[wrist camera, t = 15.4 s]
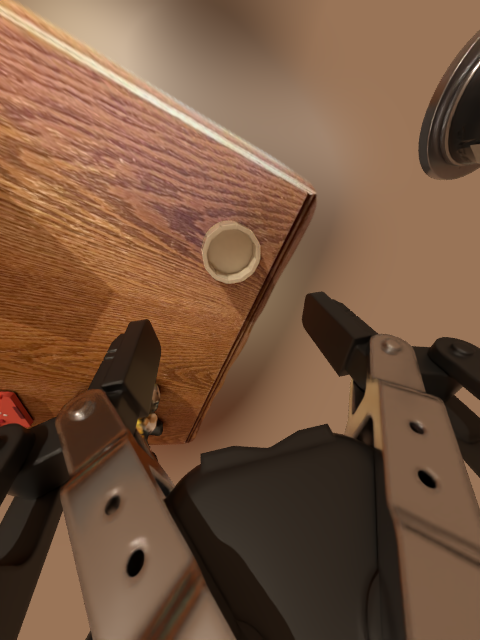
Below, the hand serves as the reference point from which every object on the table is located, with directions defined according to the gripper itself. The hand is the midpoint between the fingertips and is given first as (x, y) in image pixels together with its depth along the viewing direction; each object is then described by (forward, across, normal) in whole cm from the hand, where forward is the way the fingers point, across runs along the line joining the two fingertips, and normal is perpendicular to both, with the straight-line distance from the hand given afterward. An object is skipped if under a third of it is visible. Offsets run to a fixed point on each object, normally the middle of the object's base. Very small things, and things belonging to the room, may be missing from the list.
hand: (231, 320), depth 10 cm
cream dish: (+15, -2, +1) cm, 15 cm away
